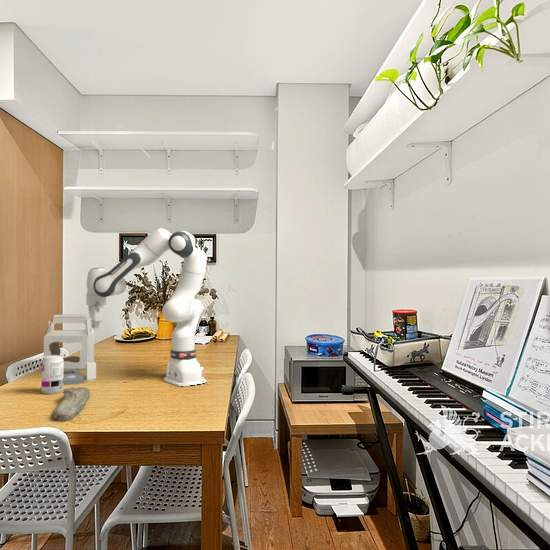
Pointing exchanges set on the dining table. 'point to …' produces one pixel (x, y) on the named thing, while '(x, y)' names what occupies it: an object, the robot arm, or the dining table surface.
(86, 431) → the dining table surface
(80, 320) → the gable box
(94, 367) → the block
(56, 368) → the supplement can
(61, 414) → the elongated rock
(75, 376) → the power board
